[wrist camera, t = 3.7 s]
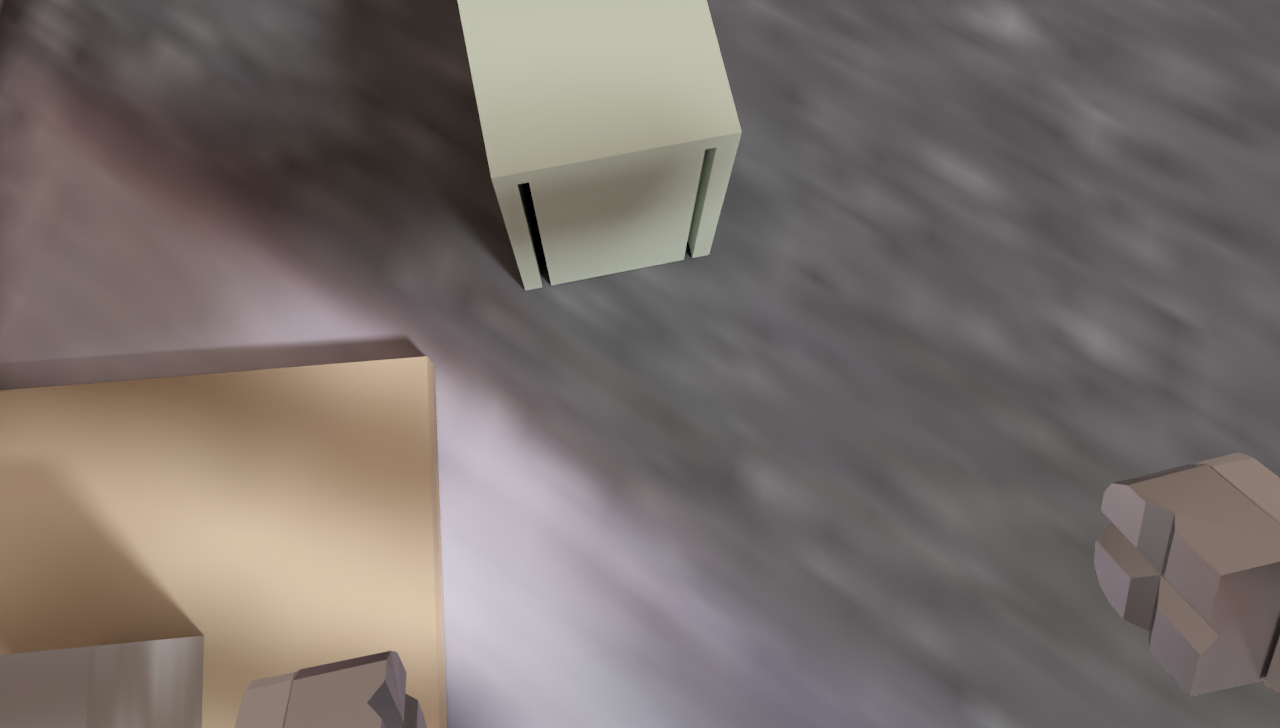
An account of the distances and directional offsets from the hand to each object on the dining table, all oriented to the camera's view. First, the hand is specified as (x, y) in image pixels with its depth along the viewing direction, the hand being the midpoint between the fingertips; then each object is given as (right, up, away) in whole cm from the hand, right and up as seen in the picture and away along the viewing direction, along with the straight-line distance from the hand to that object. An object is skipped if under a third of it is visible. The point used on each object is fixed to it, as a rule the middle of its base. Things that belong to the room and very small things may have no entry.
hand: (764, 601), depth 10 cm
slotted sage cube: (-3, +8, +17) cm, 18 cm away
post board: (-13, -6, +13) cm, 19 cm away
